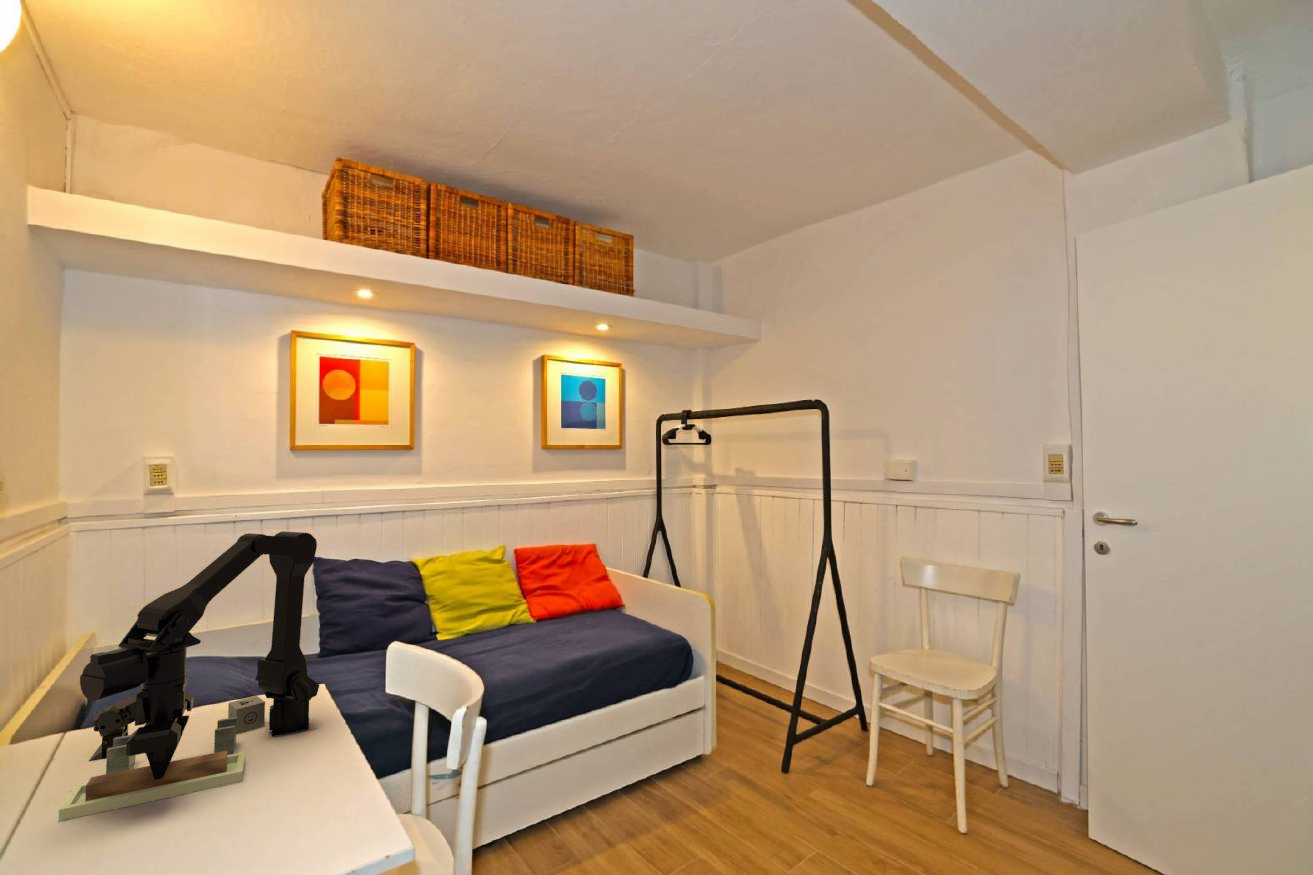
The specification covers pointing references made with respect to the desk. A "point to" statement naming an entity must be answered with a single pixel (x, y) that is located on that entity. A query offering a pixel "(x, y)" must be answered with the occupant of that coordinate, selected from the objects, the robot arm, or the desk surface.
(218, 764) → the rail
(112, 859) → the desk surface
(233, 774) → the tray
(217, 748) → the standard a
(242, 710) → the dice cube
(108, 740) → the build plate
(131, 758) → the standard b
